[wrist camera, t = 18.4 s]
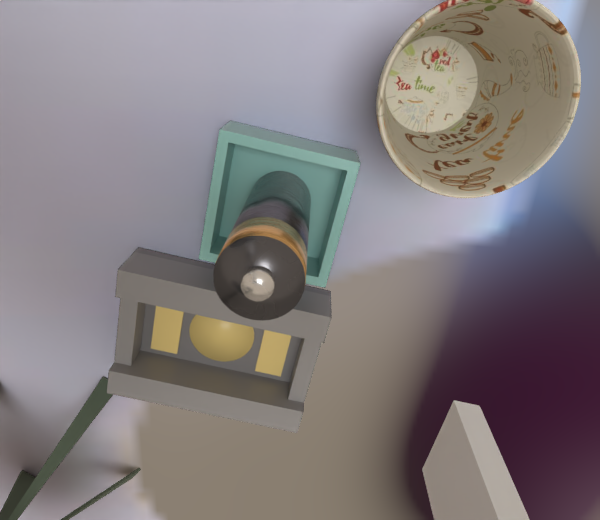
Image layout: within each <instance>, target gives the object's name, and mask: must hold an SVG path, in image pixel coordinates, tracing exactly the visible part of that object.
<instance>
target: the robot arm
mask: <svg viewBox="0 0 600 520" xmlns="http://www.w3.org/2000/svg"><path fill="white" fill-rule="evenodd" d="M422 470H423V474H424V478H425V483H426V487H427V491H428V495H429V500H430V504H431V508H432V512H433V516H434V520H529V518H528V515H527V513H526V511H525V508H524V506H523V504H522V502H521V500H520V497H519V495H518V492H517V490H516V488H515V486H514V484H513V481H512V479H511V477H510V474H509V472H508V470H507V467H506V465H505V464H504V461H503V458H502V457H501V454H500V452H499V449H498V447H497V445H496V442H495V440H494V438H493V435H492V433H491V431H490V429H489V427H488V424H487V422H486V420H485V417H484V415H483V413H482V410H481V408H480V406H478V405H473V404H468V403H463V402H459V401H453V404H452V406H451V408H450V410H449V412H448V414H447V417H446V419H445V421H444V423H443V425H442V428H441V430H440V432H439V434H438V436H437V438H436V441H435V443H434V445H433V447H432V449H431V452H430V454H429V456H428V458H427V460H426V462H425V465H424V467H423V469H422Z"/></svg>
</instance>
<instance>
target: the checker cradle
mask: <svg viewBox="0 0 600 520" xmlns="http://www.w3.org/2000/svg"><path fill="white" fill-rule="evenodd" d="M214 267H215V265H214V264H209V263H205V262H200V261H196V260H192V259H187V258H183V257H178V256H174V255H169V254H165V253H161V252H156V251H152V250H147V249H143V248H139V247H138V248H137V249H136V251H135V252H134V253H133V254H132V255H131V256H130V257H129V258H128V259H127V260H126V261H125V262H124V264H123V265H122V266H121V267H120V268H119V269H118V273H117V284H116V296H115V297H118V298H120V307H119V318H118V329H117V339H116V350H115V361H114V364H113V365H112V367H111V368H110V370H109V374H108V385H107V393H109V394H114V395H118V396H123V397H128V398H133V399H138V400H142V401H147V402H152V403H157V404H161V405H166V406H171V407H176V408H180V409H185V410H190V411H195V412H199V413H204V414H209V415H214V416H218V417H223V418H228V419H233V420H237V421H242V422H247V423H252V424H256V425H261V426H266V427H271V428H275V429H280V430H285V431H290V432H294V433H297V432H298V429H299V425H300V422H301V419H302V415H303V411H304V401H305V397H306V394H307V391H308V387H309V384H310V380H311V377H312V374H313V370H314V366H315V363H316V360H317V357H318V353H319V350H320V347H321V343H324V341H325V338H326V335H327V331H328V327H329V324H330V321H331V291H328V290H324V289H319V288H315V287H311V286H306V285H305V289H304V292H303V295H302V297H301V299H300V301H299V302H298V304H297V305H296V306H295V307H294V308H293V309H292V310H291V311H290V312H288V313H287V314H285V315H283V316H281V317H279V318H276V319H272V320H263V321H261V320H251V319H247V318H244V317H242V316H239V315H238V314H236V313H234V312H233V311H231V310H230V309H229V308H228V307H226V306H225V305H224V303H223V302H222V301H221V299H220V298H219V296H218V294H217V292H216V290H215V287H214V282H213V272H214Z"/></svg>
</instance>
